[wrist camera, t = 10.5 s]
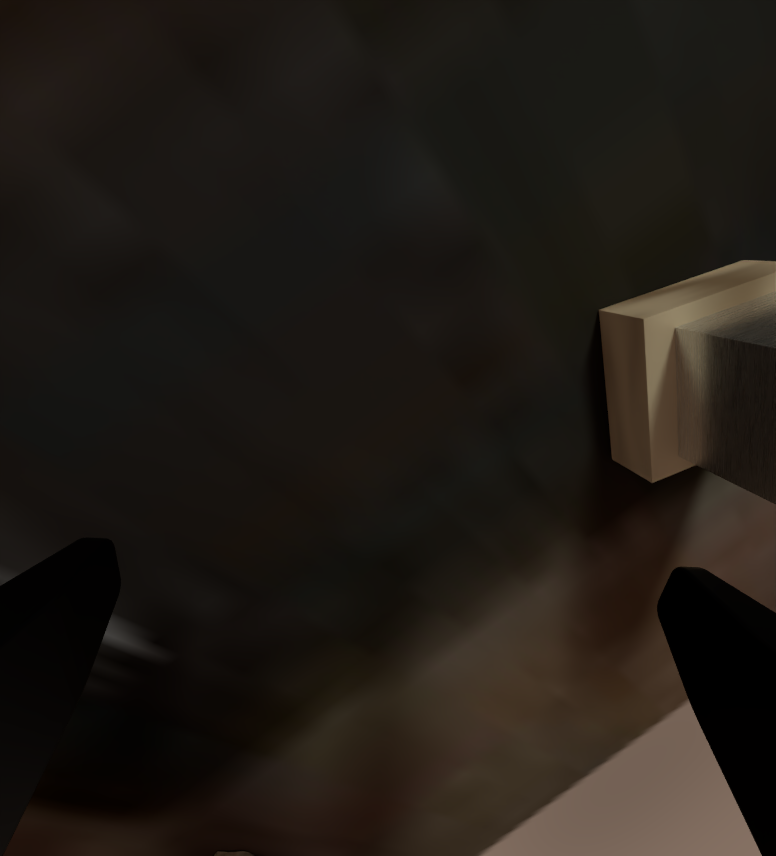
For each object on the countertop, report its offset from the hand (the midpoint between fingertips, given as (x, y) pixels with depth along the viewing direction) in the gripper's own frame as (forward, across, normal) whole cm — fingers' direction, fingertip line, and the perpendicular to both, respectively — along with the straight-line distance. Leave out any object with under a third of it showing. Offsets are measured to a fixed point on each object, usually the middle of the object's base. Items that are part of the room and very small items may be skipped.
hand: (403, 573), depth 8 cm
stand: (+14, -13, +1) cm, 20 cm away
